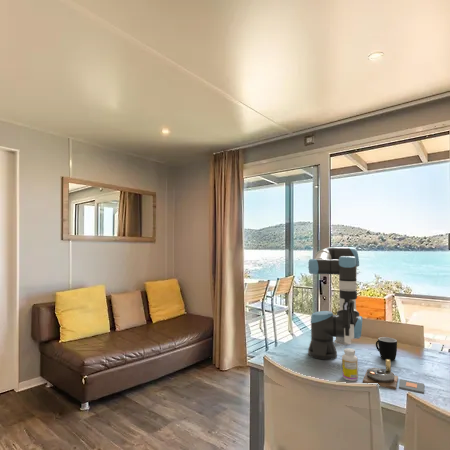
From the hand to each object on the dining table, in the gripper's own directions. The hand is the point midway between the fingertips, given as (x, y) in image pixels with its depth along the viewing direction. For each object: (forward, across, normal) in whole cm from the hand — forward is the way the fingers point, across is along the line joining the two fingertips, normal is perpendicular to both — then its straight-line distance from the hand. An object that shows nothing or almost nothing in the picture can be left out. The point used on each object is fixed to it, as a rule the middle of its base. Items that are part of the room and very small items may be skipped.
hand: (349, 340), depth 146 cm
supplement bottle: (+17, 0, 0) cm, 17 cm away
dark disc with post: (+16, +5, -12) cm, 20 cm away
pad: (+17, +5, -24) cm, 30 cm away
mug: (+17, +37, -11) cm, 42 cm away
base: (+17, +5, -12) cm, 21 cm away
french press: (+17, +54, +14) cm, 58 cm away
